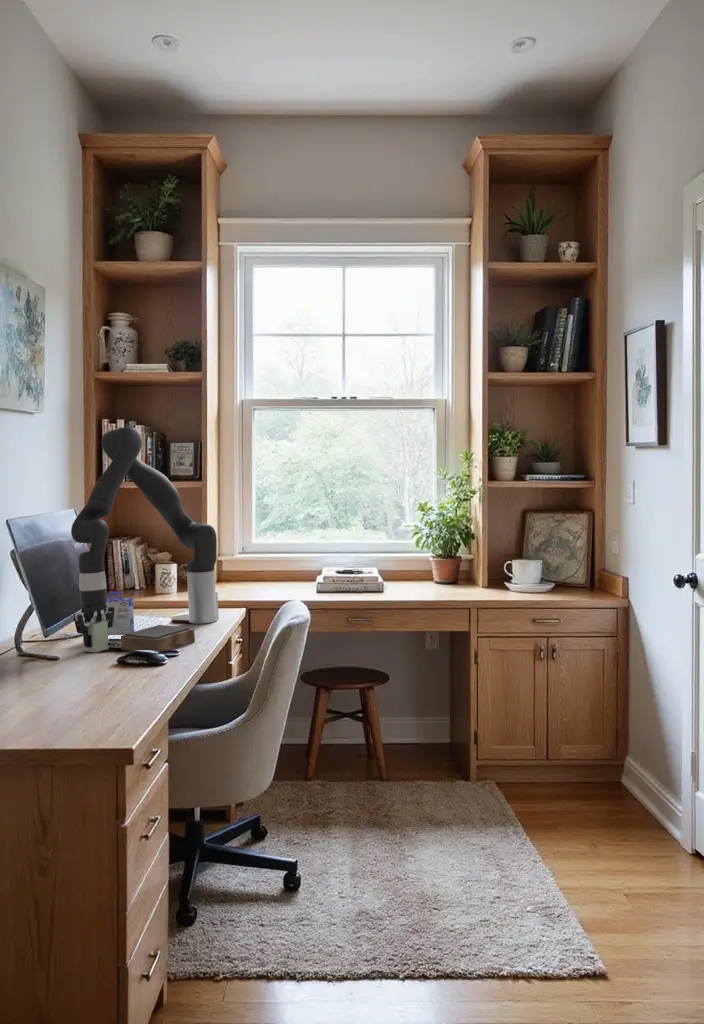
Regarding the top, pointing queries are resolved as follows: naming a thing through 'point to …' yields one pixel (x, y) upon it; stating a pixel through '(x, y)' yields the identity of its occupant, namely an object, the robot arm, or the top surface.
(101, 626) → the sage block
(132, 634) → the walnut base
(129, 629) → the ink cartridge box
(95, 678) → the top surface
